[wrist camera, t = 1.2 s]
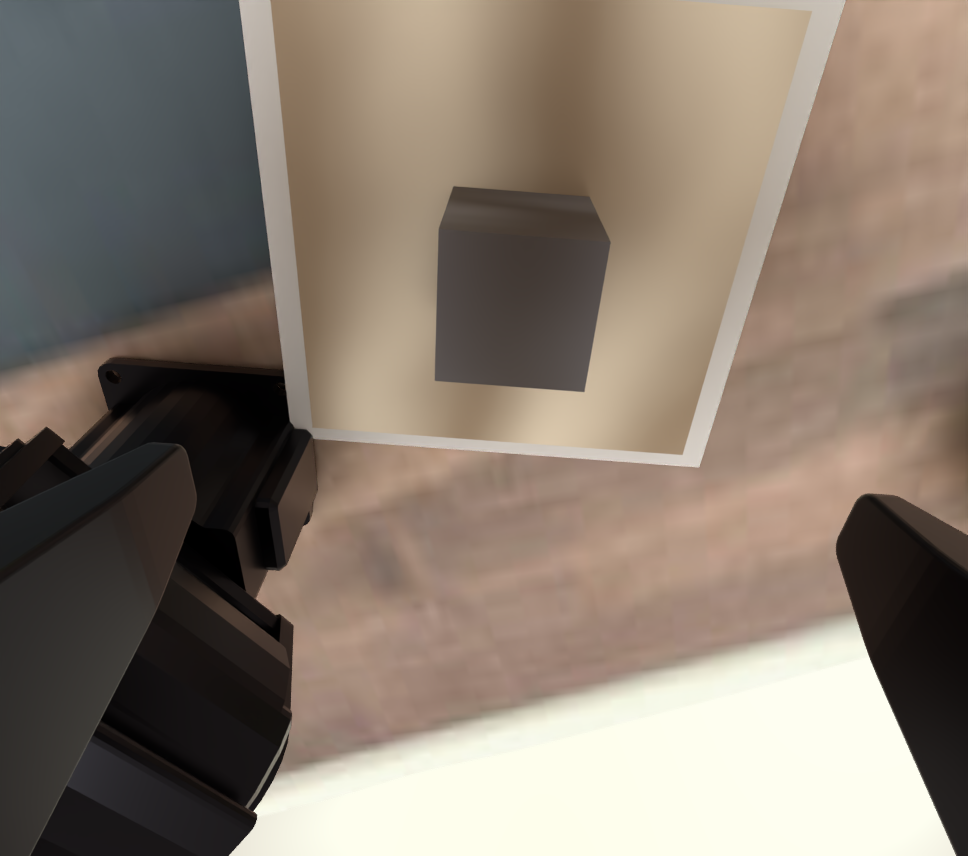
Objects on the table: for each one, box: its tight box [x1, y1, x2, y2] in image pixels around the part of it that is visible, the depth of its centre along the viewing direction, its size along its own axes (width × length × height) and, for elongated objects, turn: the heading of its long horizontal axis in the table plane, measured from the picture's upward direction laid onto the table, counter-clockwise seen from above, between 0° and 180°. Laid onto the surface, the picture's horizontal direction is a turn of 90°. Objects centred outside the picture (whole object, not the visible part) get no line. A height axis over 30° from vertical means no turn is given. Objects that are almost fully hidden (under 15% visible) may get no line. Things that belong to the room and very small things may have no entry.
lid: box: [270, 0, 812, 455], centre depth 16 cm, size 12×12×5 cm
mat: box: [239, 0, 846, 467], centre depth 18 cm, size 14×14×1 cm
